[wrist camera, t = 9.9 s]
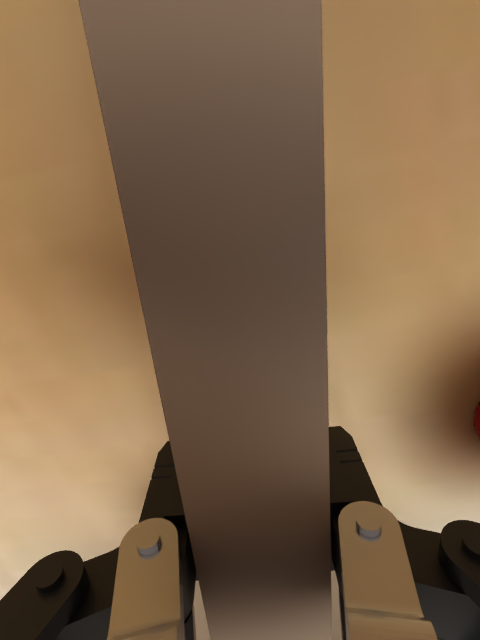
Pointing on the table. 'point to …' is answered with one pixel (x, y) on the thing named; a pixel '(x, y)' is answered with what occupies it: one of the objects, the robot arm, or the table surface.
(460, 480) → the table surface
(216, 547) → the post on square base
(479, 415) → the plastic cup
